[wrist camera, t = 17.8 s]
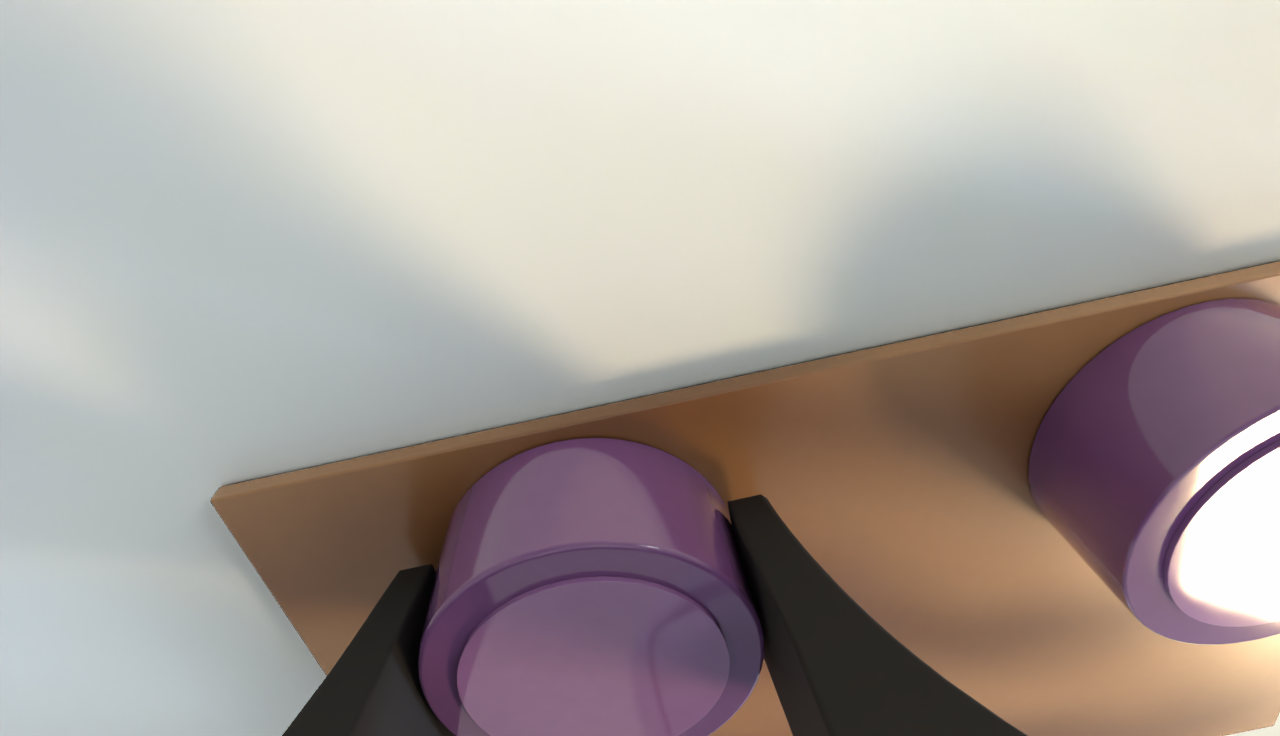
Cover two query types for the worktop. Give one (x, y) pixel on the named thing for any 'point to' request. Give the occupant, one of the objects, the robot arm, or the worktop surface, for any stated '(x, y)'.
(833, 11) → the worktop surface
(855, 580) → the mat
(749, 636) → the dish middle
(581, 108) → the worktop surface
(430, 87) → the worktop surface
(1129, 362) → the dish top
